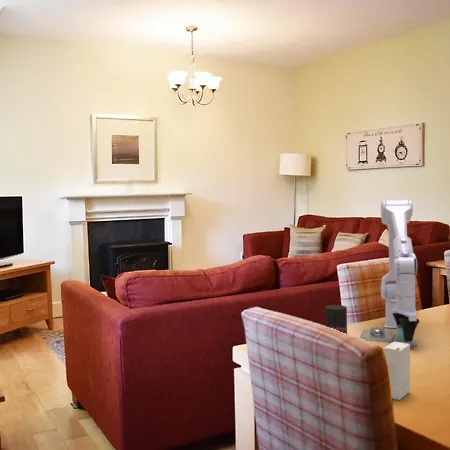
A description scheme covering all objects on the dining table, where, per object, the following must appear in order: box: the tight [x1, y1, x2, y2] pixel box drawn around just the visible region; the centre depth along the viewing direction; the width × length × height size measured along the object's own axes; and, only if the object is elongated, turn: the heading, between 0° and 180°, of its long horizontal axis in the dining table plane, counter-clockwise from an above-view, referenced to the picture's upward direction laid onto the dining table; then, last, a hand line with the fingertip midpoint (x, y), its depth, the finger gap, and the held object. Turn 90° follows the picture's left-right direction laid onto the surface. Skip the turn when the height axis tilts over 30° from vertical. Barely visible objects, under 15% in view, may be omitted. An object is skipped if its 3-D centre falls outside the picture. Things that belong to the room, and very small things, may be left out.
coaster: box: [393, 339, 419, 348], centre depth 169 cm, size 7×7×1 cm
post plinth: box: [359, 326, 396, 343], centre depth 178 cm, size 10×10×2 cm
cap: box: [395, 325, 414, 342], centre depth 169 cm, size 5×5×5 cm
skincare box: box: [383, 341, 411, 401], centre depth 130 cm, size 6×4×12 cm
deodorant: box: [325, 304, 348, 335], centre depth 158 cm, size 6×6×15 cm
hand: (405, 338), depth 169 cm, fingers closed on cap, 5 cm apart
